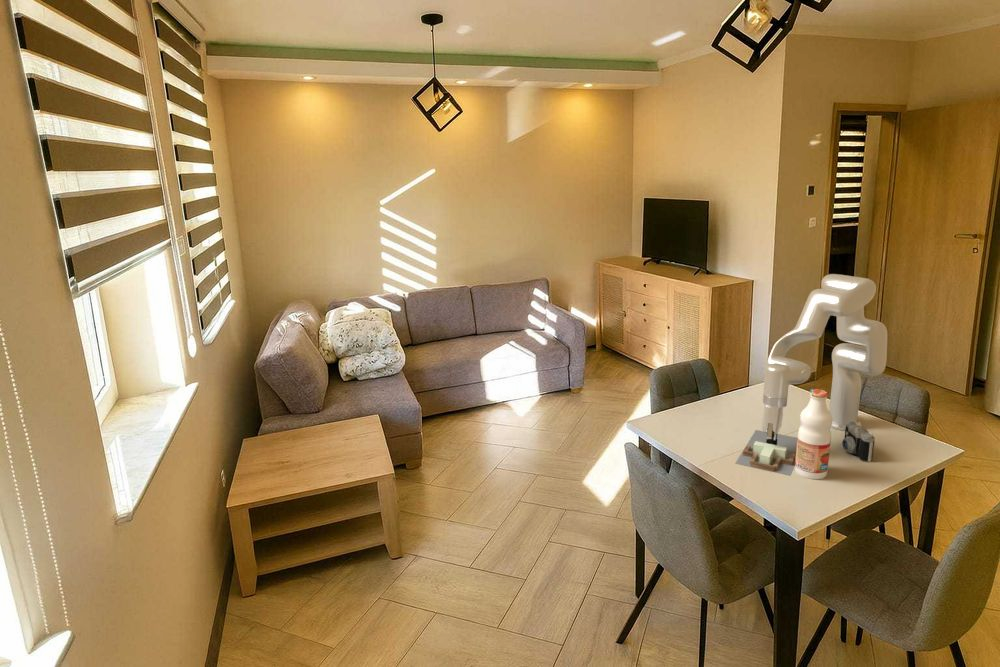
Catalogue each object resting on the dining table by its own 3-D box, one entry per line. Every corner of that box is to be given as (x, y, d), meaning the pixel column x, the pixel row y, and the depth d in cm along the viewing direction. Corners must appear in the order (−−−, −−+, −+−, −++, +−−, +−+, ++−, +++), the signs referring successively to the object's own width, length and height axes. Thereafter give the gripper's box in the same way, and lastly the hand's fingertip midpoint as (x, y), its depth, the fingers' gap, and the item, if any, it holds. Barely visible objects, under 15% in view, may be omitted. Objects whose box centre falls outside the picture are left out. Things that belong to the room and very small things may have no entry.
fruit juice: (793, 464, 202) (800, 385, 194) (825, 468, 198) (833, 387, 191) (795, 477, 193) (803, 395, 186) (828, 482, 190) (837, 398, 182)
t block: (754, 451, 211) (755, 441, 210) (786, 458, 206) (786, 447, 205) (747, 463, 203) (748, 452, 202) (780, 470, 198) (781, 459, 197)
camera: (832, 443, 215) (835, 417, 213) (852, 443, 215) (855, 416, 212) (853, 462, 201) (856, 434, 199) (874, 462, 201) (878, 434, 198)
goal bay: (747, 448, 214) (747, 444, 213) (794, 458, 205) (795, 454, 205) (737, 463, 203) (738, 459, 203) (787, 474, 195) (788, 470, 194)
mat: (755, 430, 228) (755, 429, 228) (805, 439, 219) (805, 439, 219) (735, 464, 204) (735, 463, 203) (790, 476, 194) (790, 475, 194)
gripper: (767, 390, 213) (764, 438, 218) (758, 405, 201) (754, 455, 206) (791, 394, 209) (787, 443, 214) (782, 409, 197) (778, 460, 202)
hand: (771, 449), depth 210 cm, fingers closed
